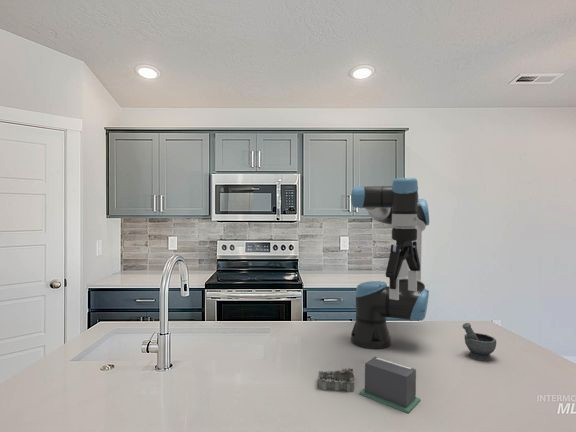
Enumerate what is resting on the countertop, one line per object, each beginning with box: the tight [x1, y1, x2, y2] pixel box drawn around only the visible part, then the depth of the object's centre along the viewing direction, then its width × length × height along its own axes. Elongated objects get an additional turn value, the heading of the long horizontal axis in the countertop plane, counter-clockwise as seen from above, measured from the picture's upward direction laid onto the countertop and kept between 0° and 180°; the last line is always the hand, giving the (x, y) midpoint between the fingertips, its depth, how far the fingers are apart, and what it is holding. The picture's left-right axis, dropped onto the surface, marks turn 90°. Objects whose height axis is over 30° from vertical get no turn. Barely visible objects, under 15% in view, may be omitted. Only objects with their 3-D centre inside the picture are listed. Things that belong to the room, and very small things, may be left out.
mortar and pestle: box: [461, 322, 497, 361], centre depth 124 cm, size 11×9×12 cm
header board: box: [359, 387, 421, 414], centre depth 96 cm, size 14×8×6 cm, turn 48°
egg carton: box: [317, 367, 356, 392], centre depth 102 cm, size 11×8×4 cm
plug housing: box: [364, 356, 417, 408], centre depth 96 cm, size 12×6×8 cm, turn 48°
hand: (403, 294), depth 110 cm, fingers open, 13 cm apart
